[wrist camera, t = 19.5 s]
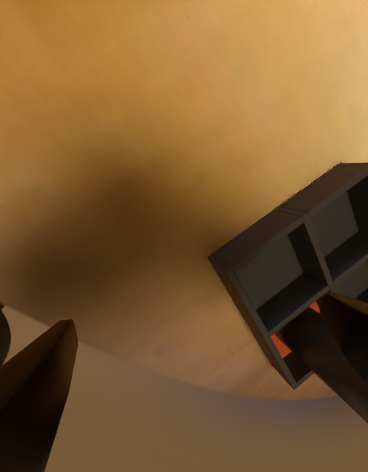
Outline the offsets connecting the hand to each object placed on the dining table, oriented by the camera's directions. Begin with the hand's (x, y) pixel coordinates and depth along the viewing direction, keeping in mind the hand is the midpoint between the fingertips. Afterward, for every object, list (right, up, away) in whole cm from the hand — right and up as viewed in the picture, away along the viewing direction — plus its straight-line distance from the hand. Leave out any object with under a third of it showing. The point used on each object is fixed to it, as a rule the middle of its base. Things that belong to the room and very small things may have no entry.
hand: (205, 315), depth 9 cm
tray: (+12, -1, +17) cm, 21 cm away
